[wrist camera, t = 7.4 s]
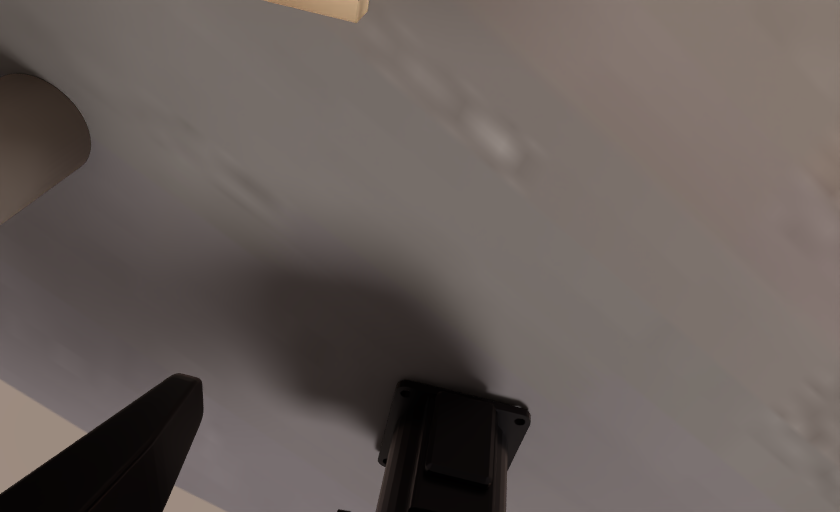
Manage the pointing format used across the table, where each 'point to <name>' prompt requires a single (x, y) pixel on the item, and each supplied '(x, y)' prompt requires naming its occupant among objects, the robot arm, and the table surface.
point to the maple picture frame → (330, 7)
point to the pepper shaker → (36, 140)
